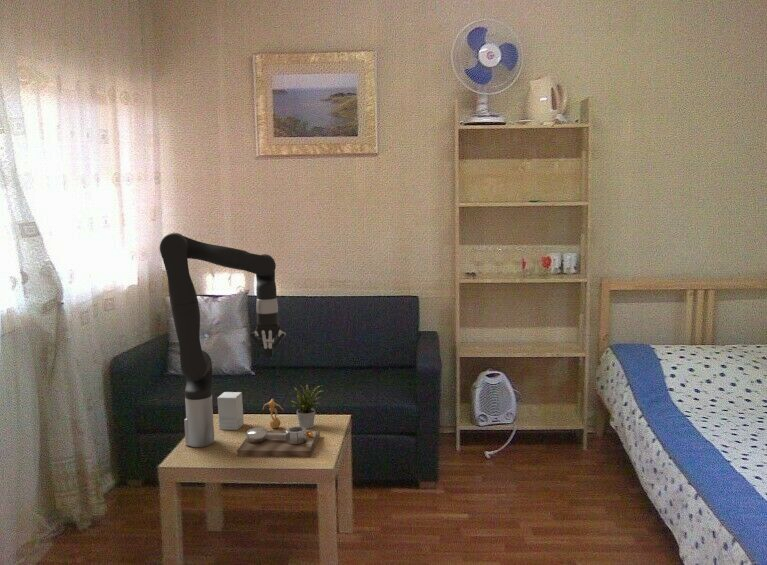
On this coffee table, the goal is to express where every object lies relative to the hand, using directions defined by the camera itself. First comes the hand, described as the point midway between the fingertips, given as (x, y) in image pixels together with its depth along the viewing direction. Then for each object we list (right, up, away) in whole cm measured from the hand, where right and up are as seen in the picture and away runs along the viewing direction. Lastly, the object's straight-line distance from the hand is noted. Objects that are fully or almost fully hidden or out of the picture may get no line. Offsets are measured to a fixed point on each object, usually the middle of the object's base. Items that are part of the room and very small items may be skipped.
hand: (269, 358), depth 255 cm
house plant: (+13, -27, +13) cm, 33 cm away
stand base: (+5, -30, -6) cm, 31 cm away
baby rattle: (+5, -28, -7) cm, 29 cm away
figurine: (0, -28, +11) cm, 30 cm away
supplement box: (-17, -28, +15) cm, 35 cm away
